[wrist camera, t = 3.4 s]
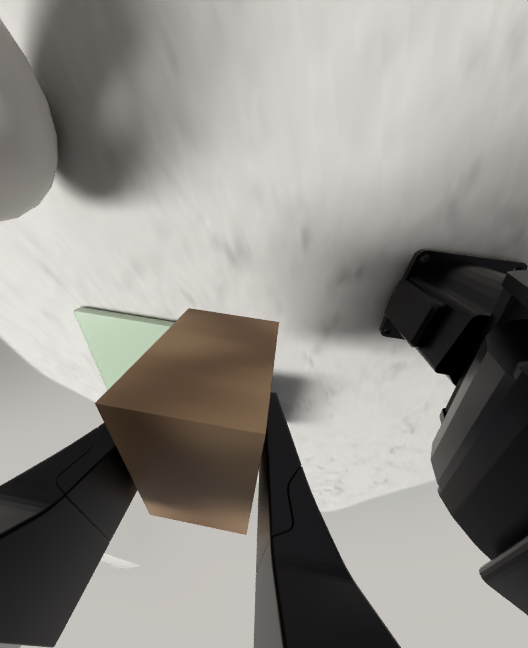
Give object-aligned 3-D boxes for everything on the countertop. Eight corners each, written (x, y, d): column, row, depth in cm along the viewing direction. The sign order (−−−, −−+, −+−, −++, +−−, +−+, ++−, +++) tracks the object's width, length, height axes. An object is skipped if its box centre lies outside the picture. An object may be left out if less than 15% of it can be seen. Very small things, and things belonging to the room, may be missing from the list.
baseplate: (195, 325, 19) (191, 330, 18) (201, 404, 24) (198, 409, 24) (81, 306, 19) (73, 310, 18) (113, 387, 25) (108, 393, 24)
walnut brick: (278, 322, 9) (265, 434, 5) (262, 420, 12) (246, 534, 8) (188, 308, 9) (94, 403, 5) (198, 409, 13) (150, 514, 8)
